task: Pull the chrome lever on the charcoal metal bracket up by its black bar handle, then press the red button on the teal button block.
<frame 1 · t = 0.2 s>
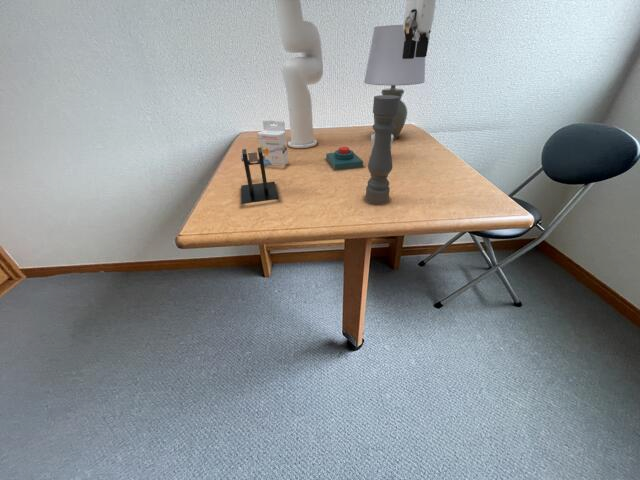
hand: (414, 57, 79), 31 cm above the table, tool pointing down, fingers open, 9 cm apart
candle holder: (376, 199, 75), on the table
button: (344, 150, 96), point 4 cm above the table, slide at 0.1 cm
bracket: (259, 195, 79), on the table
lamp: (387, 137, 125), on the table
ink box: (275, 166, 99), on the table
button block: (343, 163, 99), on the table
lever: (253, 159, 77), point 9 cm above the table, hinge at -25.0°
cup: (380, 159, 102), on the table
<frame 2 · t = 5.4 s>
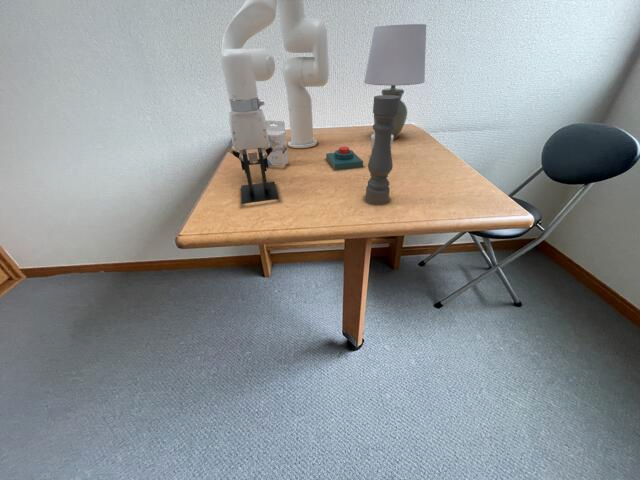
hand: (255, 170, 84), 4 cm above the table, tool pointing down, fingers closed on lever, 5 cm apart
lever: (253, 159, 77), point 9 cm above the table, hinge at -25.0°, touching gripper
everything else where it was.
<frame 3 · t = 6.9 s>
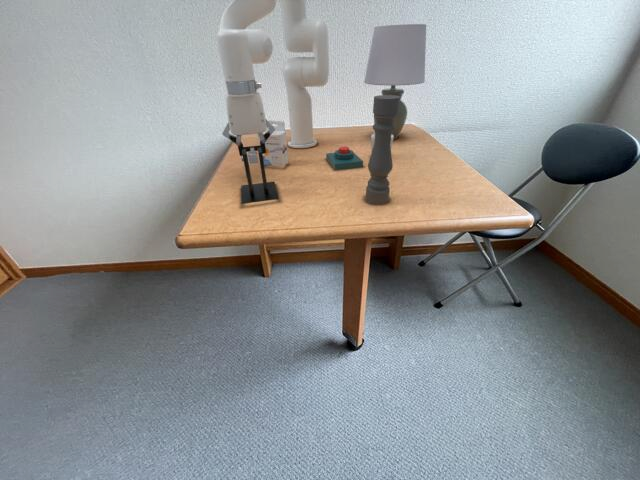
hand: (253, 156, 83), 8 cm above the table, tool pointing down, fingers closed on lever, 5 cm apart
lever: (252, 153, 77), point 11 cm above the table, hinge at -2.9°, touching gripper
everything else where it was.
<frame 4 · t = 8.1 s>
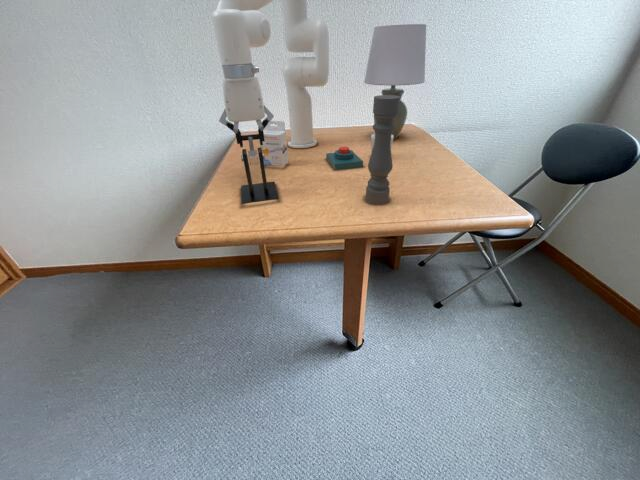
hand: (251, 144, 80), 12 cm above the table, tool pointing down, fingers closed on lever, 5 cm apart
lever: (251, 147, 76), point 12 cm above the table, hinge at 16.4°, touching gripper
everything else where it was.
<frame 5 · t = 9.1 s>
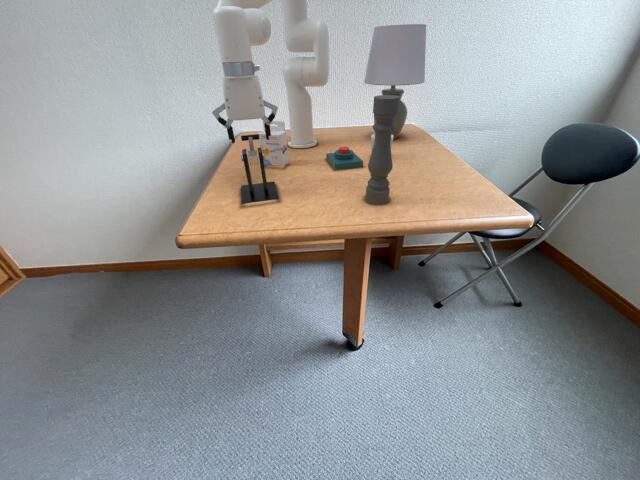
hand: (250, 140, 79), 13 cm above the table, tool pointing down, fingers open, 9 cm apart
lever: (251, 147, 76), point 12 cm above the table, hinge at 16.2°
everything else where it was.
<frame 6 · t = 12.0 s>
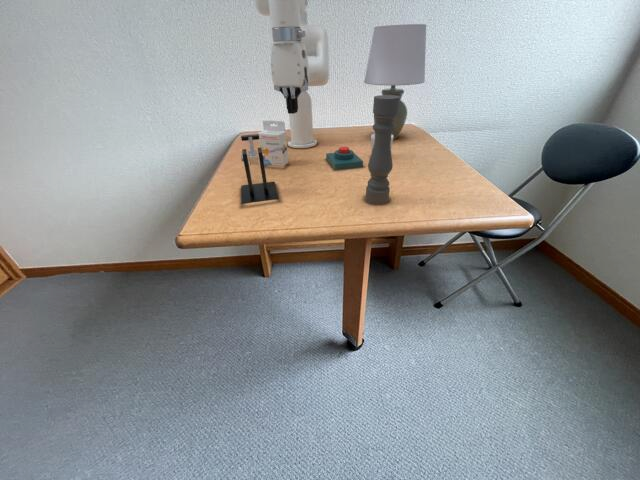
hand: (292, 112, 83), 19 cm above the table, tool pointing down, fingers closed
nothing on the table moved.
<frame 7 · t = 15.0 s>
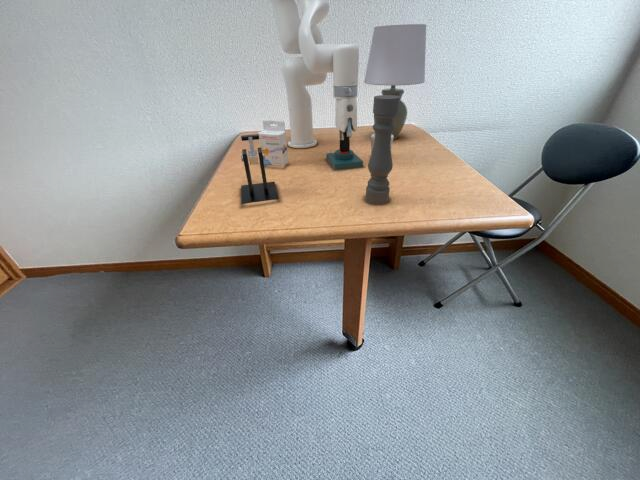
hand: (344, 151, 96), 4 cm above the table, tool pointing down, fingers closed
button: (343, 153, 97), point 3 cm above the table, slide at -0.9 cm, touching gripper
everything else where it was.
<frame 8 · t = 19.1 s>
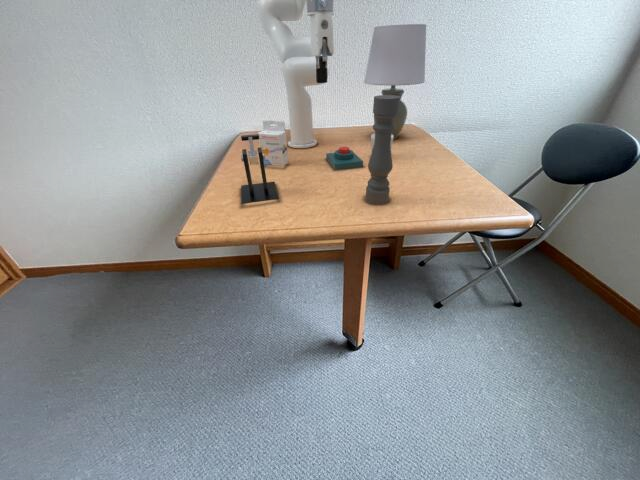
hand: (321, 82, 88), 25 cm above the table, tool pointing down, fingers closed
button: (344, 150, 96), point 4 cm above the table, slide at 0.1 cm
everything else where it was.
at the end: lever at +16° (first picture: -25°); button pushed in 1.1 cm at the most during the clip, back to where it started at the end; button slide at 0.1 cm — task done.
